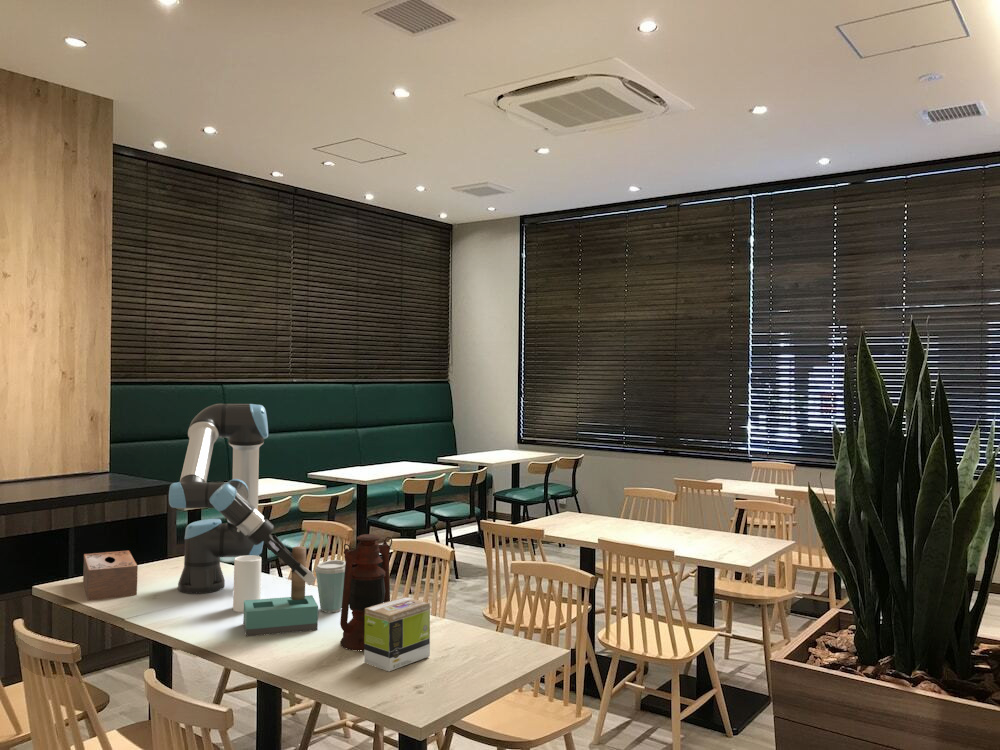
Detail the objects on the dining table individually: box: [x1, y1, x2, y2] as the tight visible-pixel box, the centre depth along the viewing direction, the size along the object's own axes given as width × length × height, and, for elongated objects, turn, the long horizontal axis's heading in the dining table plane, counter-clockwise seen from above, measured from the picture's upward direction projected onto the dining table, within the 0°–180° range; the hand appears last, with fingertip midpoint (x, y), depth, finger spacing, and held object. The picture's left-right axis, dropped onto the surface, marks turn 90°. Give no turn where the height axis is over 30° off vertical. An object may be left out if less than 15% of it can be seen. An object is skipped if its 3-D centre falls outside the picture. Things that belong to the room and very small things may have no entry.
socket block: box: [242, 594, 319, 637], centre depth 232 cm, size 12×20×7 cm, turn 112°
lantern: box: [339, 533, 393, 652], centre depth 220 cm, size 17×14×30 cm
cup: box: [232, 555, 262, 613], centre depth 249 cm, size 8×8×16 cm
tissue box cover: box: [82, 550, 139, 601], centre depth 268 cm, size 26×14×10 cm, turn 31°
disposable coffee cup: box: [314, 559, 346, 613], centre depth 250 cm, size 11×11×15 cm
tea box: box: [363, 596, 431, 672], centre depth 207 cm, size 15×10×15 cm
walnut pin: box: [290, 546, 307, 600], centre depth 234 cm, size 4×4×15 cm
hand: (311, 579), depth 235 cm, fingers closed on walnut pin, 4 cm apart
